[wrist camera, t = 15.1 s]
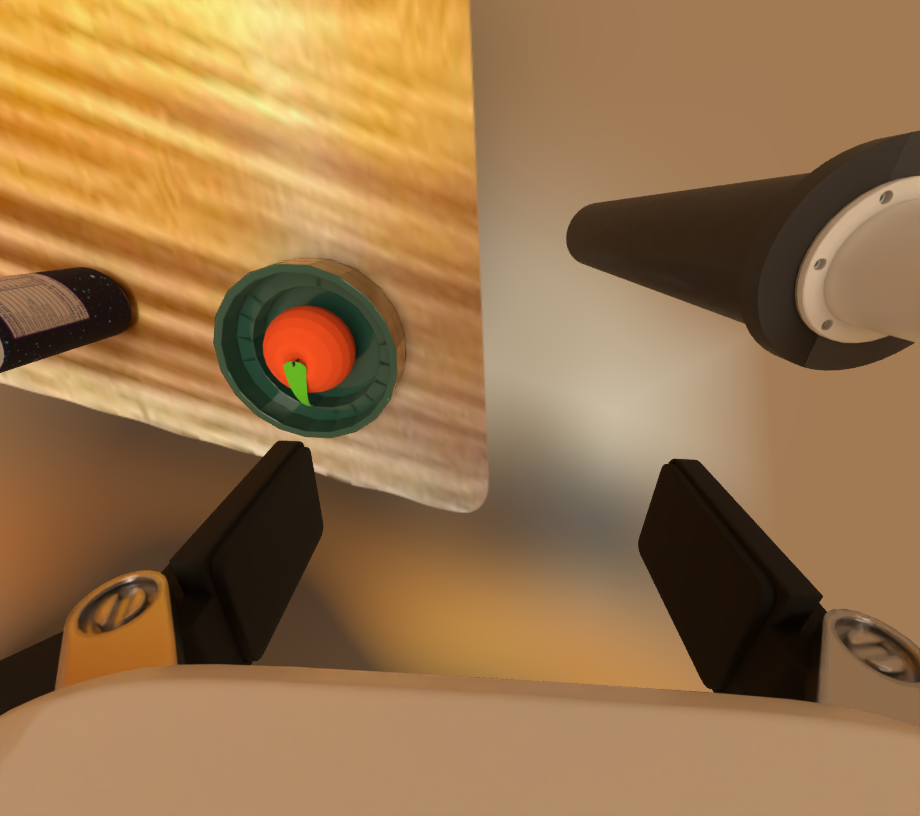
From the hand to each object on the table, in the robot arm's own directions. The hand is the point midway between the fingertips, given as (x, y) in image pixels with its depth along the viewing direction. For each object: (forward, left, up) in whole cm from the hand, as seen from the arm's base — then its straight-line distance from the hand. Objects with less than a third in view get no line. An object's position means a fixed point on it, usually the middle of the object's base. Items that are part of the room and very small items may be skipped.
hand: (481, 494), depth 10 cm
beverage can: (+32, +1, -25) cm, 41 cm away
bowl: (+13, +4, -25) cm, 28 cm away
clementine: (+13, +4, -25) cm, 28 cm away
